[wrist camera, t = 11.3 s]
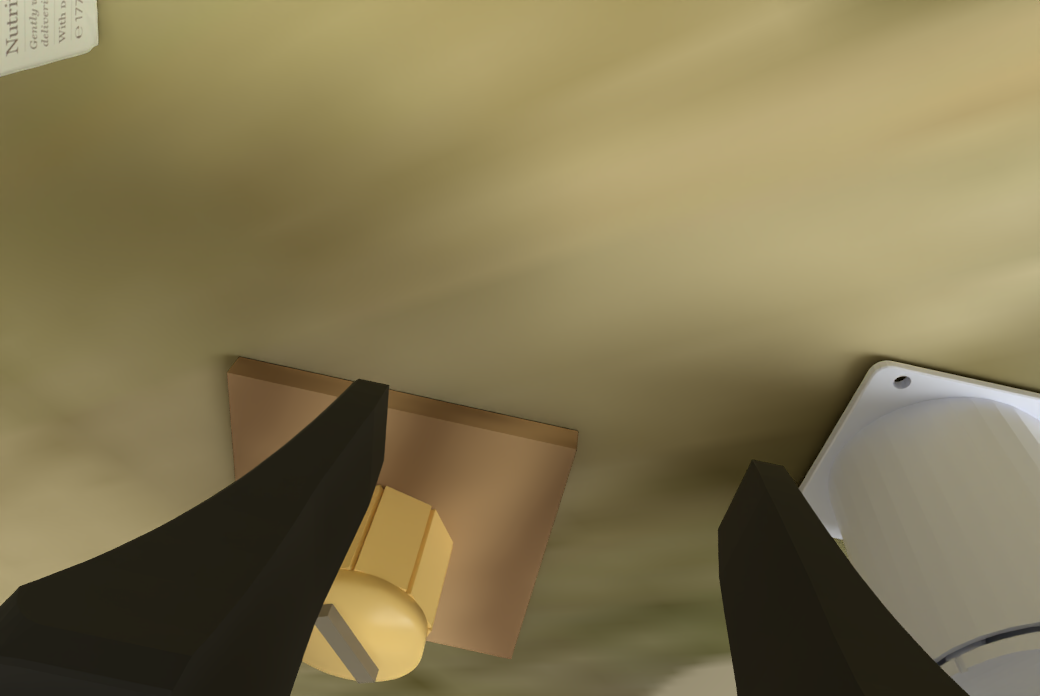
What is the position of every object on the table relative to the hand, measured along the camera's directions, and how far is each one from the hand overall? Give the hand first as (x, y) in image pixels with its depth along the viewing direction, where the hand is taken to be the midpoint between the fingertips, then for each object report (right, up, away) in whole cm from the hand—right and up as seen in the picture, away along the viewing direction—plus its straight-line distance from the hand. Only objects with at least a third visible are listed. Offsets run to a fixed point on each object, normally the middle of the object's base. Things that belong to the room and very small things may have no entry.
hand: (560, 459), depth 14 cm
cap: (-6, -6, +16) cm, 18 cm away
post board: (-6, -5, +17) cm, 18 cm away
